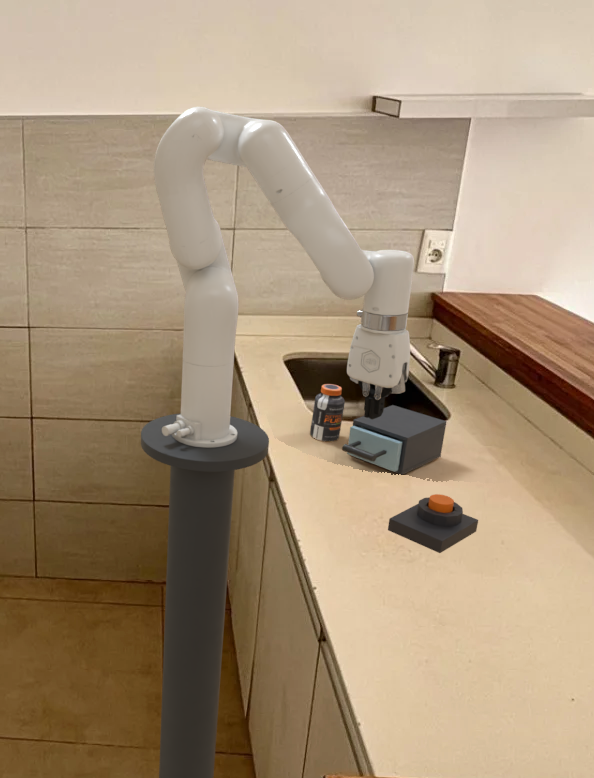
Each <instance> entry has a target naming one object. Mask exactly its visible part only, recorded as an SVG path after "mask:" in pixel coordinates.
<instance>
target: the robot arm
mask: <svg viewBox="0 0 594 778" xmlns="http://www.w3.org/2000/svg"><path fill="white" fill-rule="evenodd" d="M154 154H155V155H154V160H153V180H154V185H155V190H156V194H157V199H158V202H159V205H160V209H161V214H162V218H163V222H164V225H165V229H166V233H167V236H168V241H169V242H168V243H169V249H170V252H171V254H172V256H173V258H174V259H175V261H176V264H177V267H178V270H179V275H180V277H181V281H182V284H183V288H184V292H185V293H184V306H183V334H182V335H183V337H182V338H183V339H182V366H181V367H182V368H181V369H182V371H181V390H180V391H181V392H180V394H181V396H180V413H181V414H180V413H179V414H180V415H177V419H176V421H175V422H174V423H173V424H170V425H167V426H164V427H162V433H163V435H164V436H169V435H172V436H173V438H175V439H176V440H177V441H179V442H181V443H183V444H186V445H189V446H194V447H201V448H216V447H223V446H227V445H229V444H231V443H233V442H234V441H236V439H237V430H236V429H235V428H234V427H233V426H232V425H230V416H231V412H232V397H233V381H234V367H235V365H234V364H235V346H236V335H237V326H238V318H239V308H240V307H239V306H240V305H239V302H240V301H239V294H238V289H237V287H236V286H237V285H236V283H235V279H234V275H233V272H232V271H233V270H232V268H231V264H230V261H229V257H228V252H227V249H226V245H225V241H224V238H223V233H222V230H221V227H220V224H219V222H218V221H217V220H216V218H215V216H214V212H213V208H212V204H211V201H210V197H209V192H208V188H207V184H206V180H205V175H204V171H205V164H206V161H214V162H218V163H222V164H227V165H233V166H238V167H243V168H247V170H248V171H249V173H250V175H251V176H252V178H253V179H254V181H255V182H256V184H257V185H258V187H259V189H260V190H261V192H262V193H263V194H264V196H265V198H266V199H267V201H268V202H269V204H270V206H271V207H272V208H273V210H274V212H275V213H276V215H277V216H278V218H279V219H280V221H281V222H282V224H283V225H284V226H285V228H286V229H287V230H288V232H289V233H290V234H291V235H292V236H293V237H294V238H295V239H296V240H297V241H298V243H299V244H300V245H301V247H302V248H303V250H304V251H305V253H306V254H307V256H308V257H309V258H310V260H311V261H312V263H313V264H314V266H315V267H316V269H317V271H318V272H319V275H320V278H321V280H322V282H323V283H324V284H325V285H326V287H327V288H328V289H329V290H330V291H331V293H332V294H333V295H334V296H336V297H338V298H340V299H341V300H349V301H352V300H357V299H360V298H361V297H363V302H362V308H361V309H358V310H357V311H356V316H357V317H359V318H361V319H360V324H357V325H356V327H355V330H354V333H353V335H352V338H351V342H350V346H349V352H348V357H347V364H346V374H347V376H348V377H349V380H350V381H352V382H354V383H355V384H358V386H359V387H360V389H361V391H362V395H363V397H364V405H363V411H364V414H363V416H364V417H366V418H370V419H375V418H378V417H380V416H381V415H382V413H383V409H384V408H385V400H386V398H387V397H388V396H390V395H392V394H394V395H398V394H403V393H405V392H406V383H407V381H408V378H409V373H410V365H411V364H410V363H411V341H410V340H411V339H410V338H411V337H410V332H409V330H407V323H408V316H409V307H410V301H411V300H410V299H411V292H412V283H413V276H414V269H415V258H414V255H413V254H412V253H410V252H409V251H406V250H399V249H379V250H366V249H362V248H361V246H360V244H359V243H358V241H357V239H356V238H355V237H354V235H353V234H352V232H351V231H350V229H349V227H348V226H347V224H346V223H345V222H344V219H343V218H342V217H341V216H340V214H339V212H338V211H337V209H336V207H335V205H334V204H333V203H334V202H333V201H332V200H331V198H330V196H329V195H328V193H327V192H326V190H325V189H324V187H323V185H322V184H321V183H320V181H319V179H318V178H317V176H316V175H315V173H314V172H313V170H312V168H311V167H310V165H309V164H308V162H307V161H306V159H305V157H304V156H303V154H302V153H301V151H300V150H299V147H298V146H297V144H296V143H295V141H294V140H293V138H292V137H291V135H290V133H289V132H288V131H287V129H286V128H285V127H284V125H282V124H281V123H279V122H278V121H275V120H272V119H260V118H253V117H248V116H243V115H237V114H232V113H227V112H223V111H218V110H213V109H210V108H208V107H205V106H194V107H191V108H188V109H186V110H184V111H183V112H182V113H181V114H180V115H178V116H177V118H176V119H174V121H173V122H172V123H171V124H170V126H169V127H167V129H166V131H165V132H164V133H163V135H162V137H161V138H160V140H159V143H158V144H157V147H156V151H155V153H154Z"/></svg>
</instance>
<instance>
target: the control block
mask: <svg viewBox="0 0 594 778" xmlns="http://www.w3.org/2000/svg"><path fill="white" fill-rule="evenodd" d="M429 499H430V496H429V497H423V498H421V499H420V500H418V503H417V504H415V505H413V506H411V507H409V508H407V509H405V510H402V511H401V512H399V513H398V514H395V515H393V516H392V517H390V518H389V519H388V525H387V526H388V527H387V531H389V532H391V533H393V534H396V535H398V536H400V537H401V538H404V539H406V540H409V541H411V542H413V543H416V544H418V545H420V546H423V547H425V548H426V549H429V550H431V551H434V552H435V553H439V554H442V553H443V552H445V551H447V550H448V549H449V548H452V547H453V546H455V545H456V544H458V543H459V542H461V541H463V540H464V539H466V538H469V537H470V536H471V535H473V534H475V533H476V532H477V530H478V529H477V528H478V525H479V519H477V518H474V517H472V516H470V515H467V514H464V511H463V507H462V506H461V505H460V504H458V503H457V502H456V501H454V505H453V510H452V512H451V513H442V512H437V511H434V510H432V509H430V508H429V507H428V504H429Z"/></svg>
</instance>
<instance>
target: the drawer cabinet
mask: <svg viewBox="0 0 594 778" xmlns="http://www.w3.org/2000/svg"><path fill="white" fill-rule="evenodd" d="M447 423H448V422H447V420H443V419H440V418H436V417H434V416H430V415H427V414H423V413H421V412H417V411H414V410H411V409H407V408H404V407H401V406H397V405H394V404H392V405H388V406H387V407H384V409H383V413H382V415H381V416H380V417H378V418H375V419H370V418H366V417H364V415H363V416H360V417H357V418H354V419H353V420H352V426H357V427H359V428H361V426H362V427H365V428H368V429H371V430H374V431H377V432H380V433H383V434H386V435H389V436H392V437H395V438H397V439H400V440H403V446H402V453H401V459H400V465H399V467H398V471H395V472H394V471H391V470H389V471H391V472H393V473H396V474H399V475H401V476H402V475H405V474H408V473H409V472H411V471H414V470H416V469H417V468H418V469H419V467H422V466H424V465H426V464H428V463H431V462H433V461H435V460H437V459H439V458H441V456H442V452H443V451H442V450H443V446H444V439H445V433H446V427H447ZM352 457H354V456H352ZM354 458H355V457H354ZM360 460H362V459H360ZM362 461H363V460H362ZM368 463H369V464H371V463H370V462H368ZM373 466H378V465H375V464H373ZM378 467H379V466H378ZM381 468H382V469H385V470H387V469H386V468H383V467H381Z"/></svg>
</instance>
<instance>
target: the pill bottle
mask: <svg viewBox="0 0 594 778" xmlns="http://www.w3.org/2000/svg"><path fill="white" fill-rule="evenodd" d="M342 390H343V388H342V386H339V385H337V384H334V383H324V384H322V385H321V389H320V393H318V394H316V396H315V399H314V404H313V410H312V417H311V423H310V430H309V435H310V436H311V438H313V439H314V438H315V440H317V441H321V442H325V441H332V442H335V441H334V440H336V441H338V440H339V438H340V434H341V429H342V421H343V416H344V411H345V403H346V401H345V399H344V397H343V396H342ZM337 439H338V440H337Z"/></svg>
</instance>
